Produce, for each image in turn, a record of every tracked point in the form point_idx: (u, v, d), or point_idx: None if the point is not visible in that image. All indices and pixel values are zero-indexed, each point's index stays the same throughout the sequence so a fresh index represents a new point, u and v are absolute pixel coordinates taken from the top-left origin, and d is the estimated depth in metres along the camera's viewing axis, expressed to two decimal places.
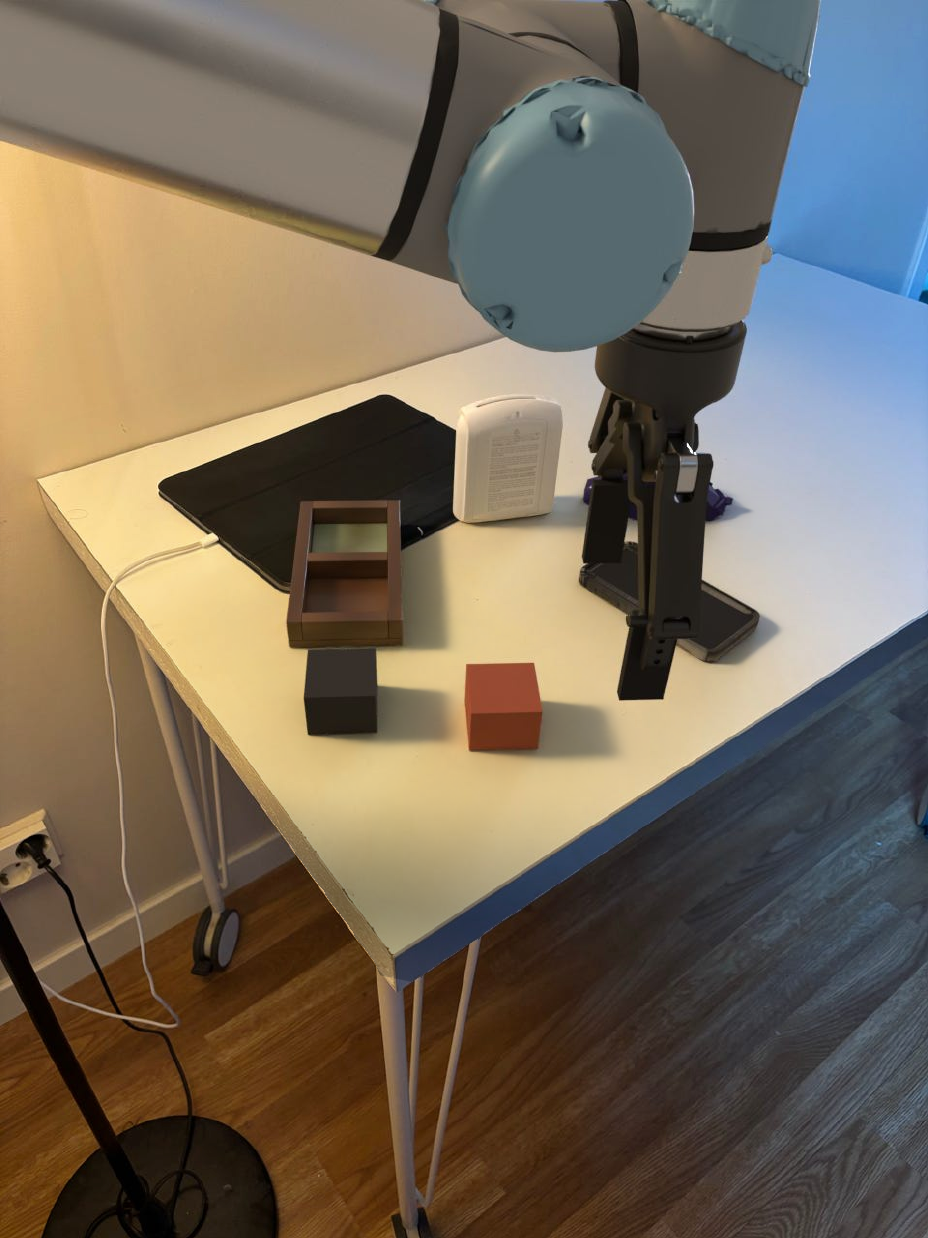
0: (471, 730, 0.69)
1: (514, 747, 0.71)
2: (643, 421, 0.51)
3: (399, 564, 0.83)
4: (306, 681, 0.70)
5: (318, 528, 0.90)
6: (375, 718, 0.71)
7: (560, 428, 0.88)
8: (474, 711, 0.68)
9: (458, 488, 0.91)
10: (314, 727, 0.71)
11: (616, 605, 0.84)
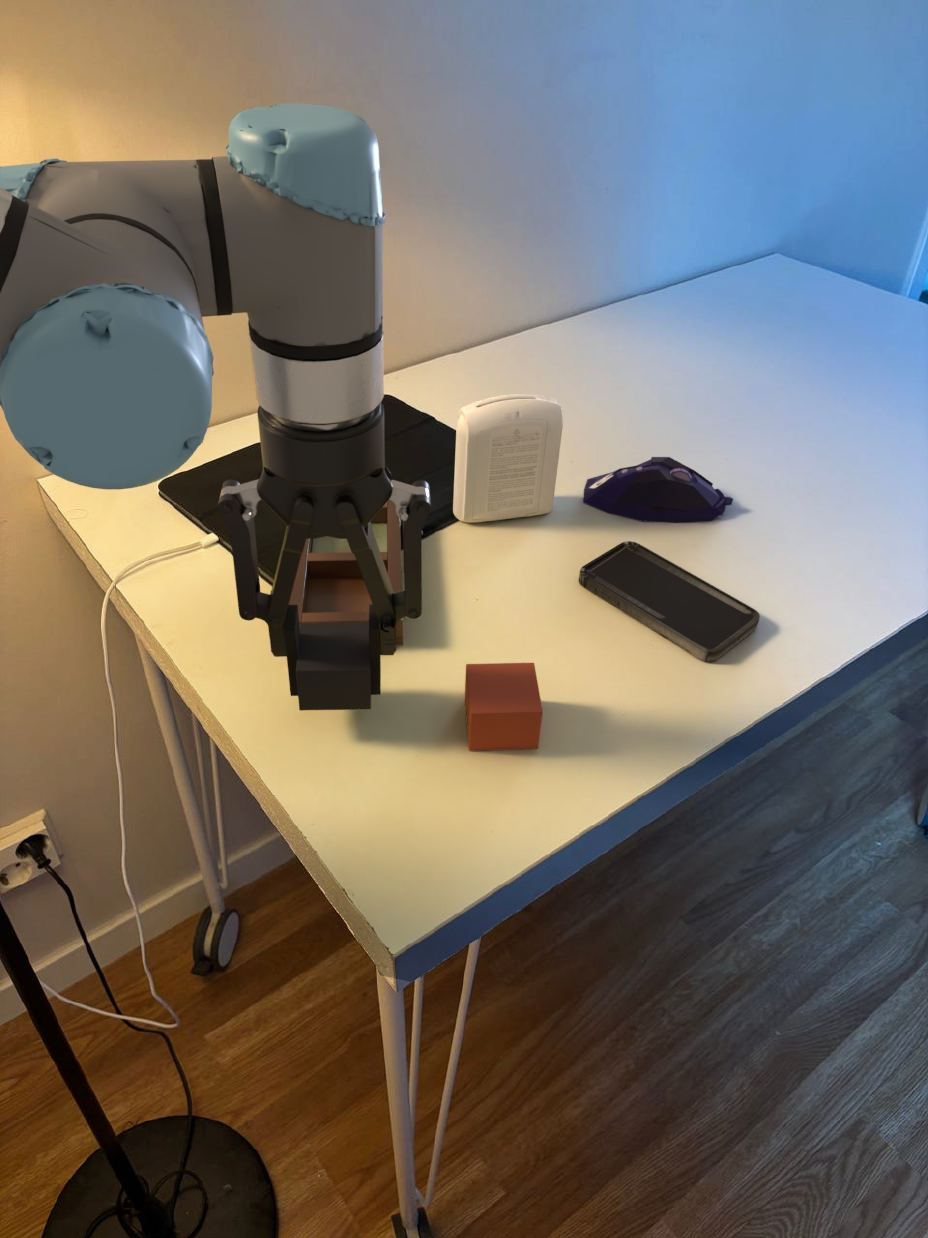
0: (471, 730, 0.69)
1: (514, 747, 0.71)
2: (348, 491, 0.59)
3: (399, 564, 0.83)
4: (298, 654, 0.68)
5: None
6: (369, 693, 0.69)
7: (560, 428, 0.88)
8: (474, 711, 0.68)
9: (458, 488, 0.91)
10: (306, 703, 0.69)
11: (616, 605, 0.84)
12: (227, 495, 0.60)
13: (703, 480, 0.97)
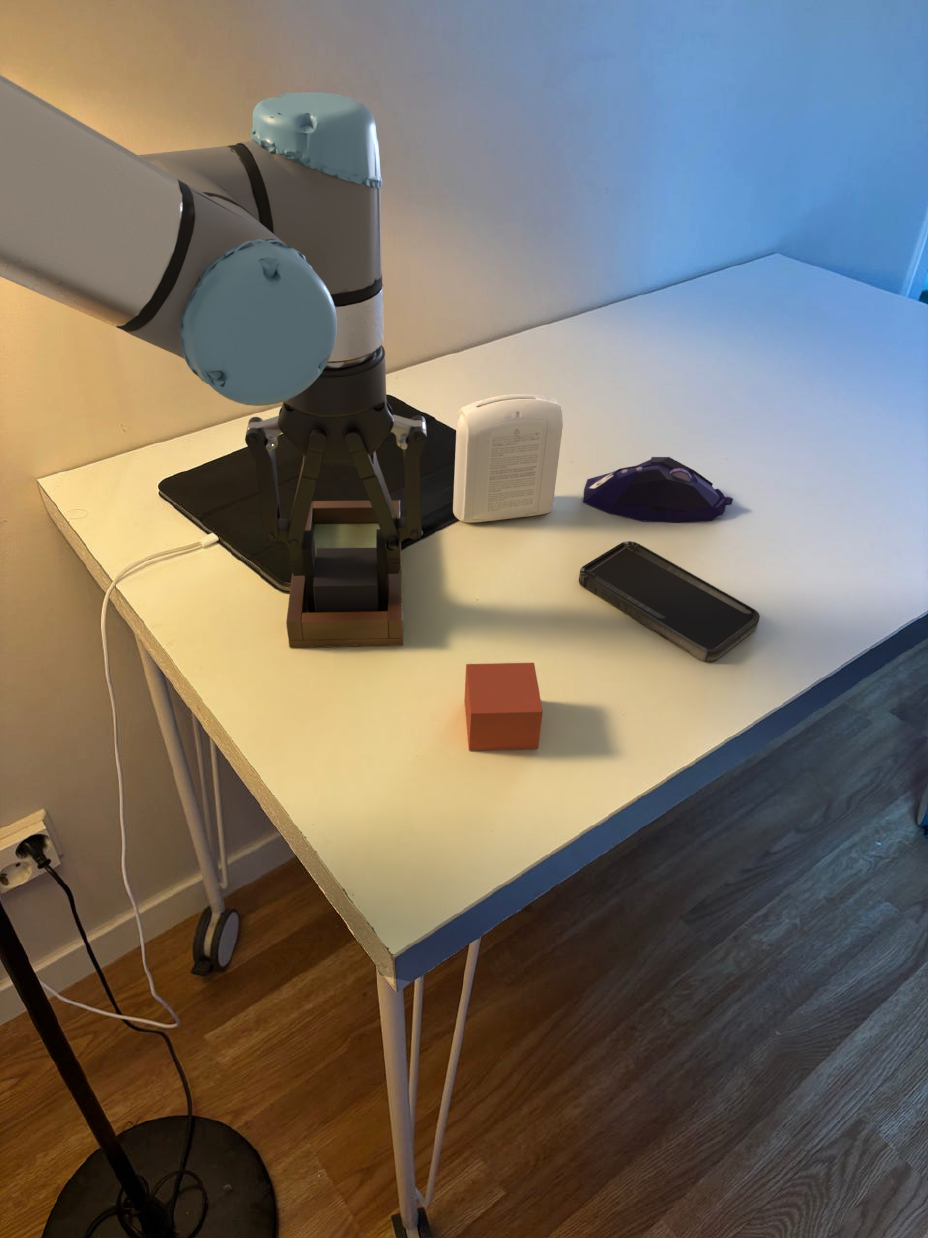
0: (471, 730, 0.69)
1: (514, 747, 0.71)
2: (355, 423, 0.70)
3: None
4: (315, 573, 0.79)
5: (318, 528, 0.90)
6: (377, 607, 0.79)
7: (560, 428, 0.88)
8: (474, 711, 0.68)
9: (458, 488, 0.91)
10: None
11: (616, 605, 0.84)
12: (253, 429, 0.70)
13: (703, 480, 0.97)
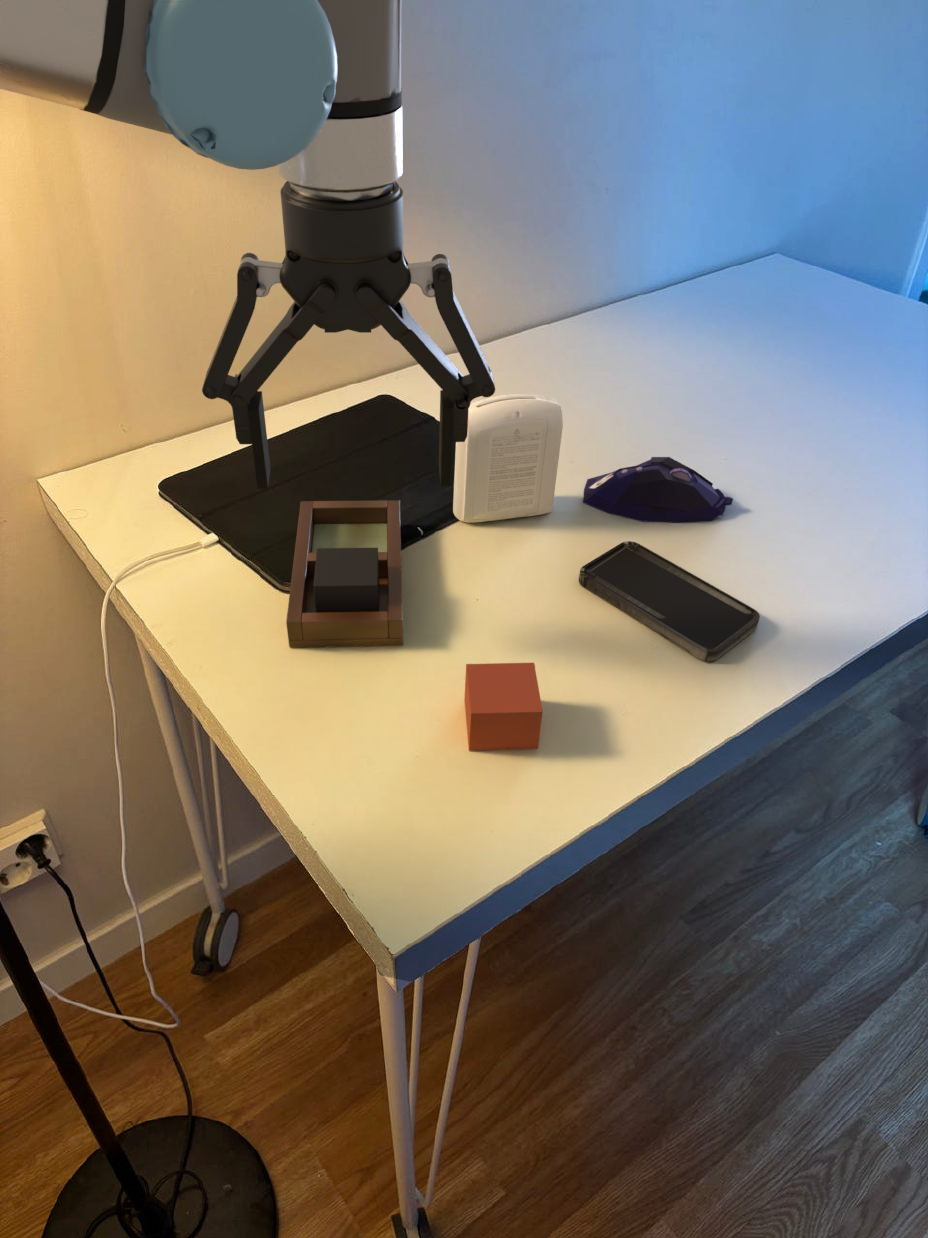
0: (471, 730, 0.69)
1: (514, 747, 0.71)
2: (368, 278, 0.61)
3: (399, 564, 0.83)
4: (315, 573, 0.79)
5: (318, 528, 0.90)
6: (377, 607, 0.79)
7: (560, 428, 0.88)
8: (474, 711, 0.68)
9: (458, 488, 0.91)
10: None
11: (616, 605, 0.84)
12: (250, 264, 0.61)
13: (703, 480, 0.97)
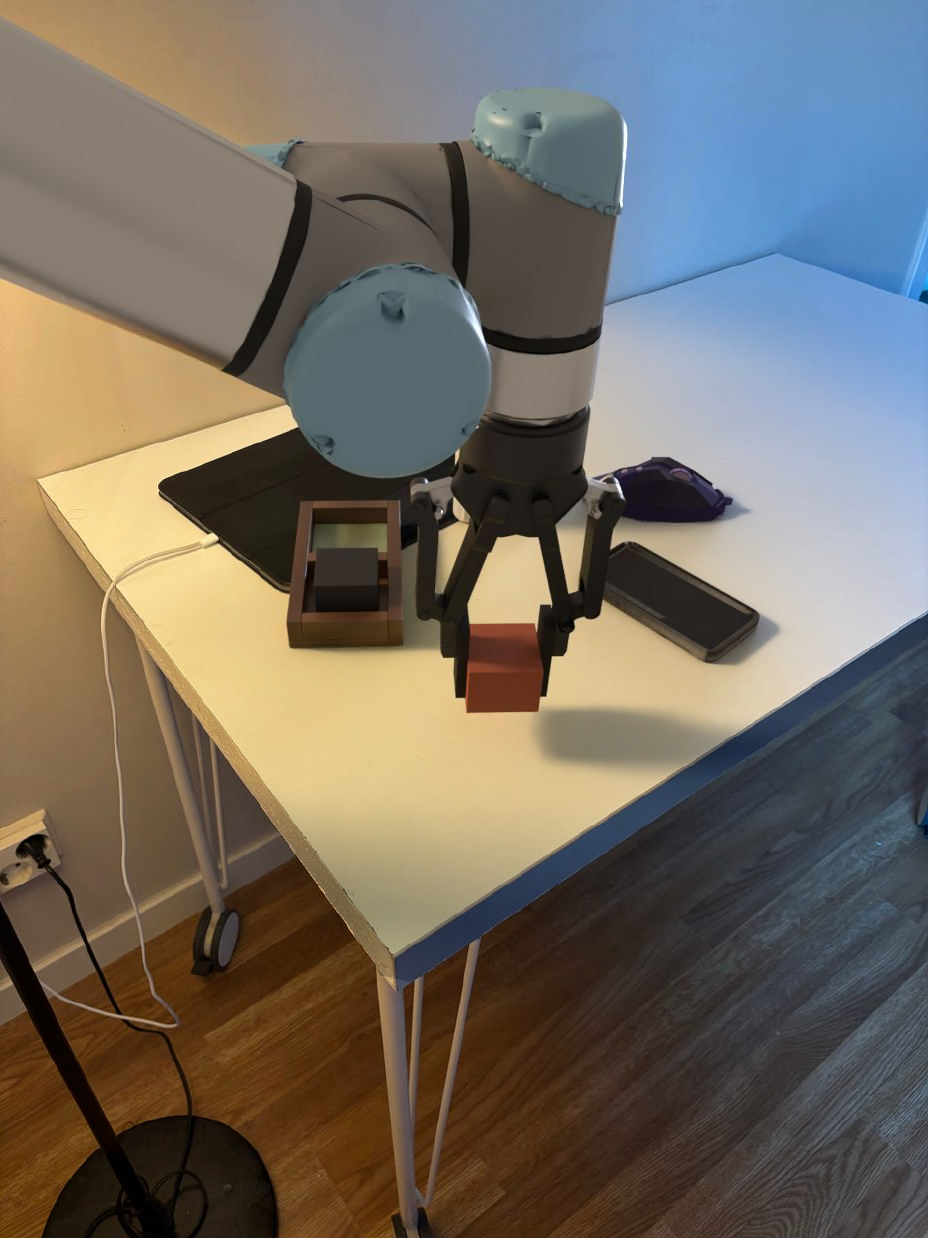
0: (469, 691, 0.67)
1: (513, 710, 0.68)
2: (545, 488, 0.58)
3: (399, 564, 0.83)
4: (315, 573, 0.79)
5: (318, 528, 0.90)
6: (377, 607, 0.79)
7: None
8: (472, 670, 0.66)
9: None
10: None
11: (616, 605, 0.84)
12: (420, 493, 0.58)
13: (703, 480, 0.97)
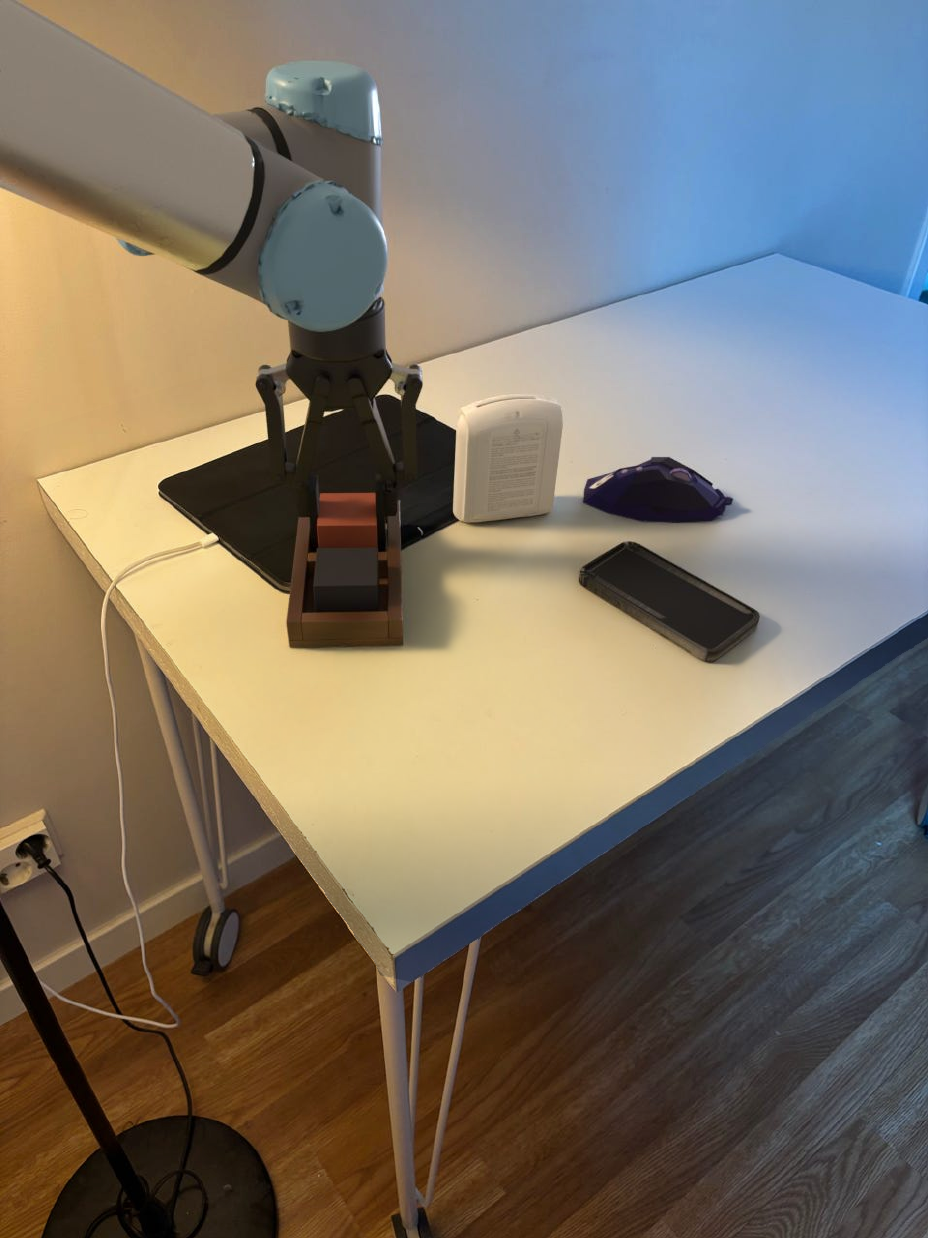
0: (319, 542, 0.85)
1: None
2: (357, 370, 0.76)
3: (399, 564, 0.83)
4: (315, 573, 0.79)
5: None
6: (377, 607, 0.79)
7: (560, 428, 0.88)
8: (319, 524, 0.84)
9: (458, 488, 0.91)
10: None
11: (616, 605, 0.84)
12: (262, 375, 0.76)
13: (703, 480, 0.97)
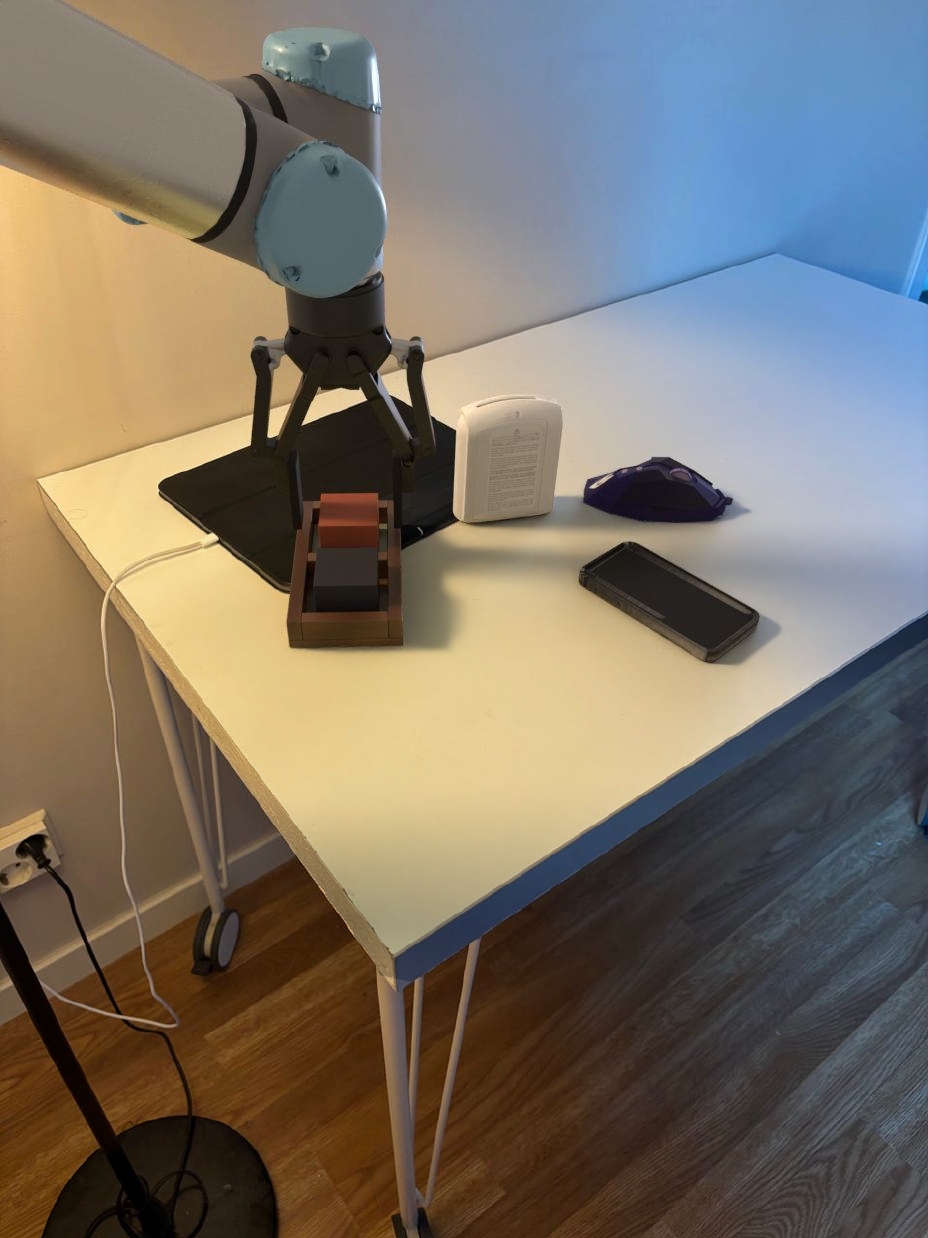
0: (320, 542, 0.85)
1: None
2: (356, 347, 0.75)
3: (399, 564, 0.83)
4: (315, 573, 0.79)
5: (318, 528, 0.90)
6: (377, 607, 0.79)
7: (560, 428, 0.88)
8: (321, 524, 0.84)
9: (458, 488, 0.91)
10: None
11: (616, 605, 0.84)
12: (259, 346, 0.74)
13: (703, 480, 0.97)
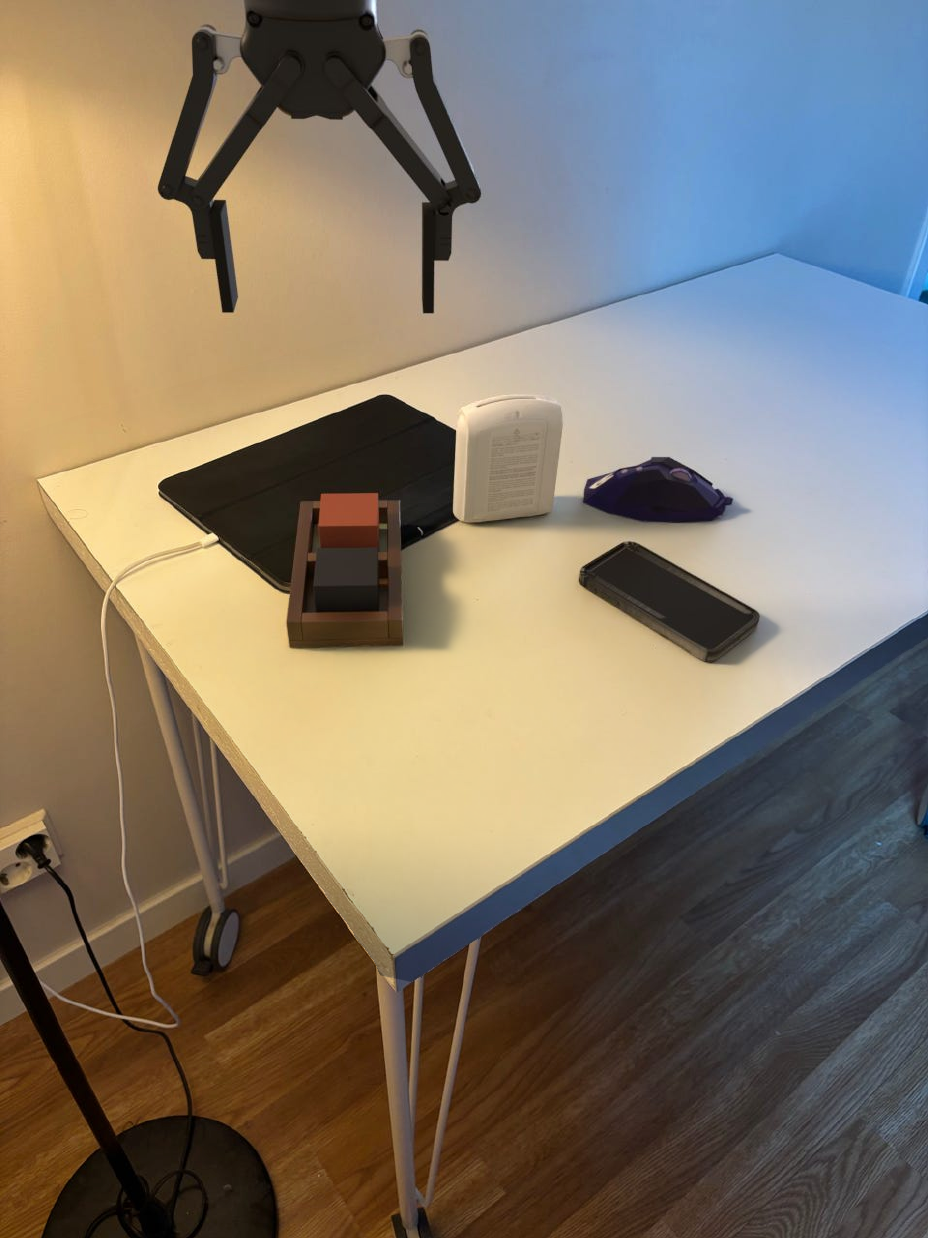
0: (320, 542, 0.85)
1: None
2: (338, 49, 0.55)
3: (399, 564, 0.83)
4: (315, 573, 0.79)
5: (318, 528, 0.90)
6: (377, 607, 0.79)
7: (560, 428, 0.88)
8: (321, 524, 0.84)
9: (458, 488, 0.91)
10: None
11: (616, 605, 0.84)
12: (206, 31, 0.55)
13: (703, 480, 0.97)
